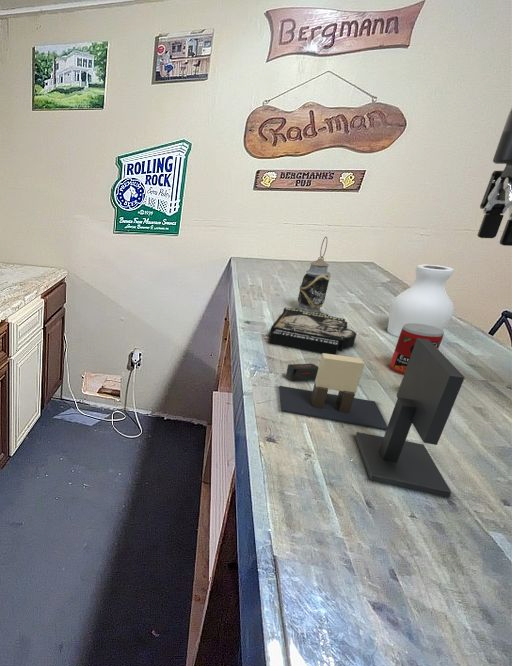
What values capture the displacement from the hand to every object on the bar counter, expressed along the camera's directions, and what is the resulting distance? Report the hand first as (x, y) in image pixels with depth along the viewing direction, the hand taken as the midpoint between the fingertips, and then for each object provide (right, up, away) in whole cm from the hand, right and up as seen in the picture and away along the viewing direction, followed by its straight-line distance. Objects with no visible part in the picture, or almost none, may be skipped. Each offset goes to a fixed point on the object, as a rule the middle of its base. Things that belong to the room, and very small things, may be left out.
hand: (496, 241), depth 73 cm
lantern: (+21, -2, +84) cm, 86 cm away
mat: (-13, -29, +22) cm, 38 cm away
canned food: (+18, -22, +39) cm, 48 cm away
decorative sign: (+8, -12, +62) cm, 63 cm away
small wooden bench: (-13, -28, +22) cm, 38 cm away
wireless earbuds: (-10, -23, +36) cm, 44 cm away
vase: (+38, -12, +62) cm, 74 cm away
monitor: (-13, -37, +4) cm, 39 cm away
